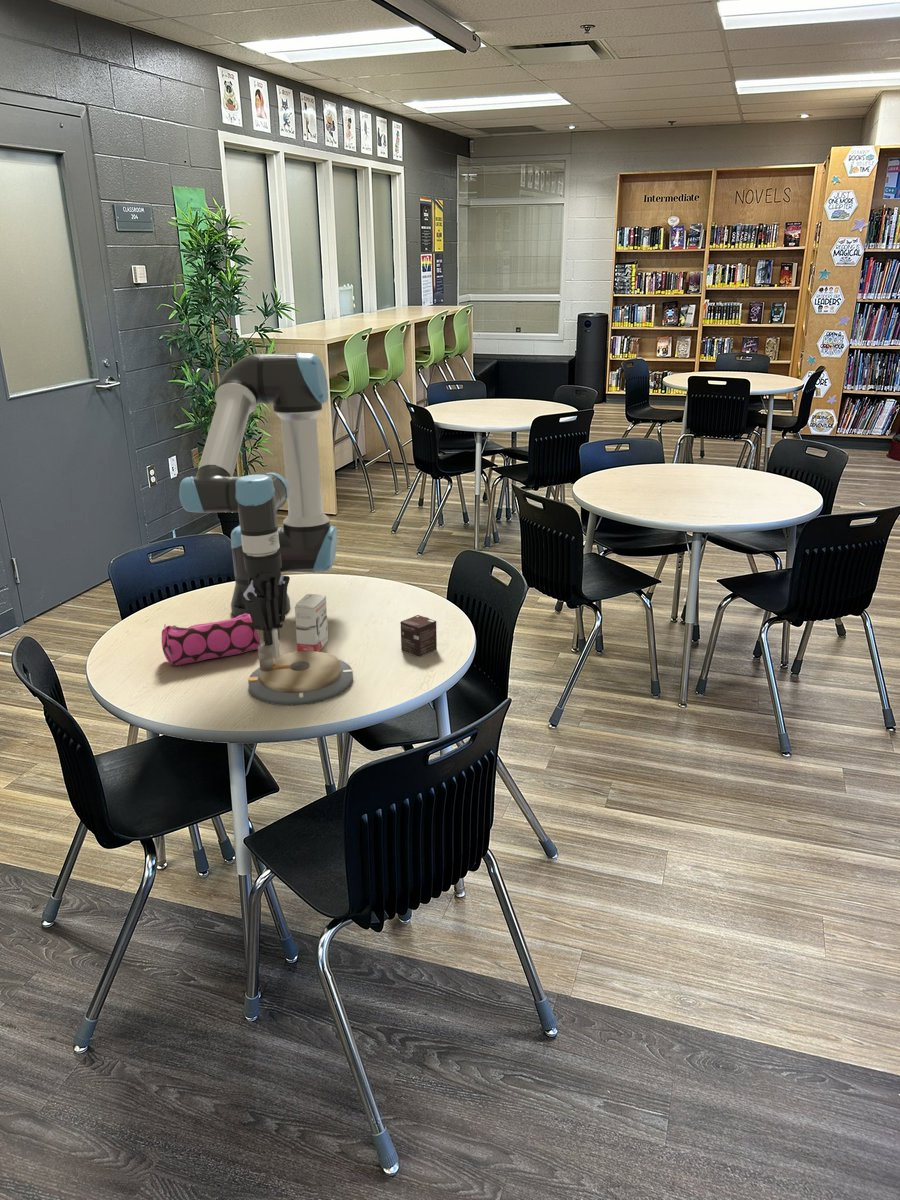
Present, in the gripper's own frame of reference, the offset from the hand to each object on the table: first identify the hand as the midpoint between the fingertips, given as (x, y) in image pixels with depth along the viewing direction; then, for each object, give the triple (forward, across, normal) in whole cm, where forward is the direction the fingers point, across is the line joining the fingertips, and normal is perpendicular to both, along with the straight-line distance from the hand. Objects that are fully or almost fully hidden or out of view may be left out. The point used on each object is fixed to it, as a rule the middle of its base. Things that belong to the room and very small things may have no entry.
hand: (273, 656), depth 191 cm
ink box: (+6, +18, +4) cm, 19 cm away
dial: (+4, +1, -6) cm, 7 cm away
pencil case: (+5, +2, +21) cm, 21 cm away
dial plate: (+5, +1, -6) cm, 8 cm away
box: (+6, +27, -19) cm, 34 cm away
